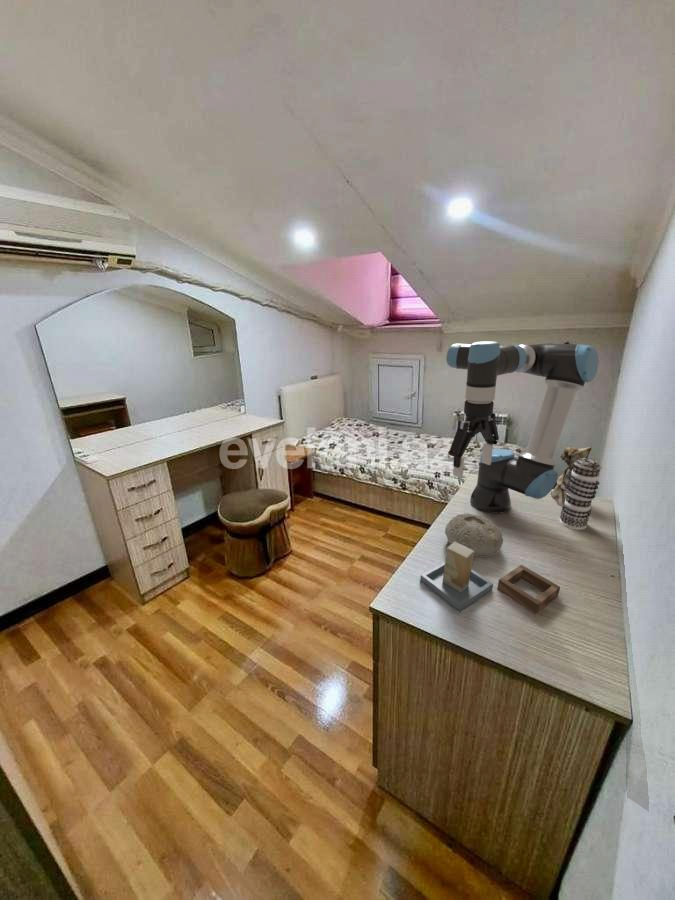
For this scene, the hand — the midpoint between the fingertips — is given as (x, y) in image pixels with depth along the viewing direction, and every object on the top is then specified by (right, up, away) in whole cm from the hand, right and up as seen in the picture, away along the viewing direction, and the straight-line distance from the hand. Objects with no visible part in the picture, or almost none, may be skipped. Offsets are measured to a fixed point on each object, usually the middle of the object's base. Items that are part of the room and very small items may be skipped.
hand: (472, 469), depth 104 cm
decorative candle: (+46, -21, +24) cm, 57 cm away
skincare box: (-6, -33, -4) cm, 34 cm away
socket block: (+12, -34, -7) cm, 37 cm away
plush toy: (+54, -16, +39) cm, 68 cm away
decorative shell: (+5, -27, +13) cm, 30 cm away
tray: (-6, -33, -4) cm, 34 cm away
